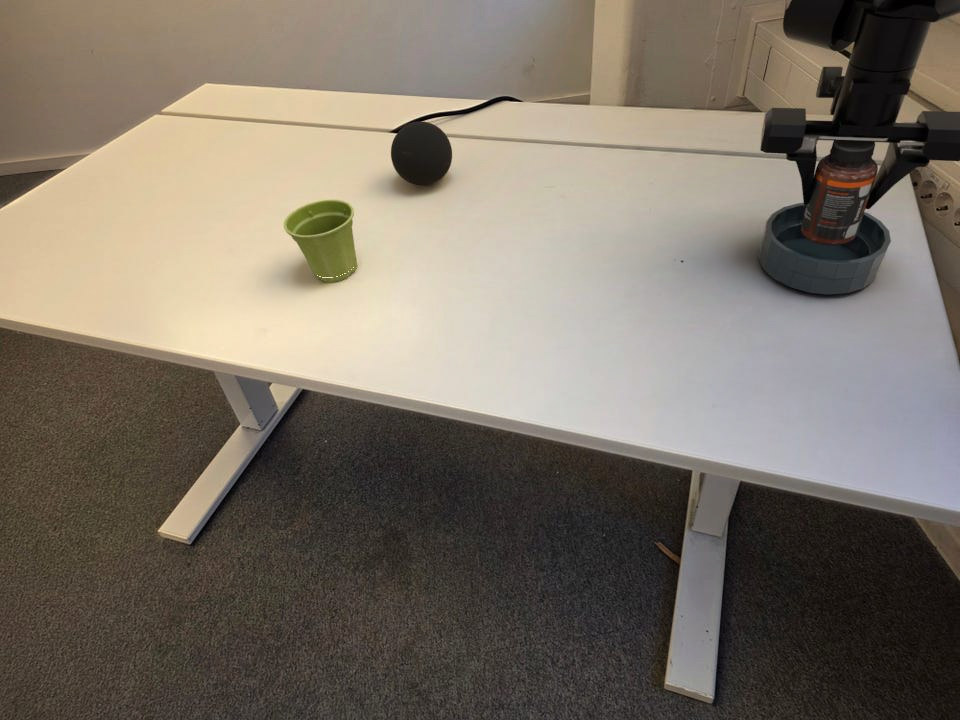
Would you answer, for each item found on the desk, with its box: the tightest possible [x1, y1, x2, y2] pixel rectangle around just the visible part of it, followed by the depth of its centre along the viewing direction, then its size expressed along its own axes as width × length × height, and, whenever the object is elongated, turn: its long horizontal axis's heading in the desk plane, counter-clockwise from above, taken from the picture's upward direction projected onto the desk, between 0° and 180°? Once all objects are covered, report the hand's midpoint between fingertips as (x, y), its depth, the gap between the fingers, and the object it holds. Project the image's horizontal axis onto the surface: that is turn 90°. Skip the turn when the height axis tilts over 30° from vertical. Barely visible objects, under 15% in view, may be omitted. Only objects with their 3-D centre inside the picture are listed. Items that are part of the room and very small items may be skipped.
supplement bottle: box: [801, 141, 879, 245], centre depth 68 cm, size 6×6×11 cm
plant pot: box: [283, 199, 358, 283], centre depth 84 cm, size 9×9×9 cm
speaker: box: [390, 120, 453, 187], centre depth 99 cm, size 10×10×10 cm
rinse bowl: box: [758, 202, 892, 295], centre depth 74 cm, size 13×13×5 cm
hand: (835, 205), depth 69 cm, fingers closed on supplement bottle, 6 cm apart
